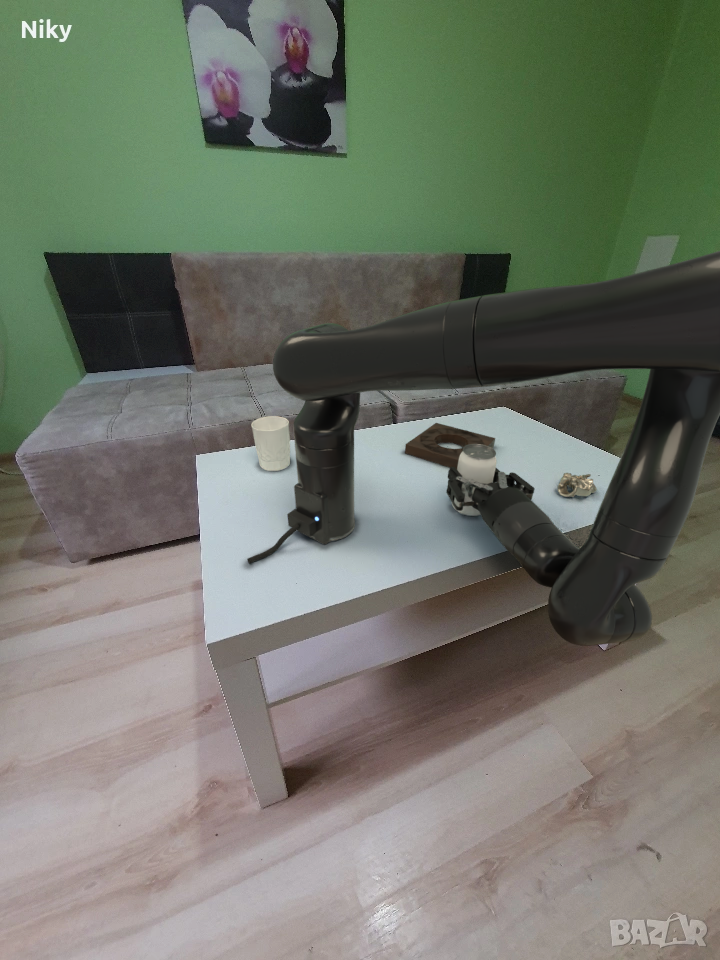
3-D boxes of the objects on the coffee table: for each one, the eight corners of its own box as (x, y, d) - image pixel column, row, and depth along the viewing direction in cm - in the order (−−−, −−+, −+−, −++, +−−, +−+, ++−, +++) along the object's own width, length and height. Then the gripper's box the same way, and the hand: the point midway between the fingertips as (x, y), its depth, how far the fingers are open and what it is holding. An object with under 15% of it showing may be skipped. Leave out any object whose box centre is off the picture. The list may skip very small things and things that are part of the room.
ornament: (576, 479, 82) (581, 464, 80) (602, 497, 77) (608, 481, 75) (545, 485, 80) (549, 470, 78) (569, 503, 75) (575, 487, 73)
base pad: (468, 473, 84) (470, 463, 83) (404, 453, 92) (405, 444, 91) (493, 447, 95) (495, 438, 94) (434, 431, 103) (435, 422, 102)
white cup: (289, 453, 92) (285, 414, 86) (295, 469, 85) (291, 427, 80) (255, 458, 89) (249, 418, 84) (259, 475, 83) (252, 432, 78)
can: (450, 496, 76) (459, 441, 70) (483, 499, 76) (495, 444, 70) (452, 515, 71) (462, 458, 65) (488, 518, 70) (501, 461, 64)
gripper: (567, 497, 57) (507, 447, 71) (478, 508, 55) (434, 455, 68) (554, 536, 61) (499, 482, 75) (470, 549, 58) (430, 490, 72)
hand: (468, 469), depth 72 cm, fingers closed on can, 6 cm apart
